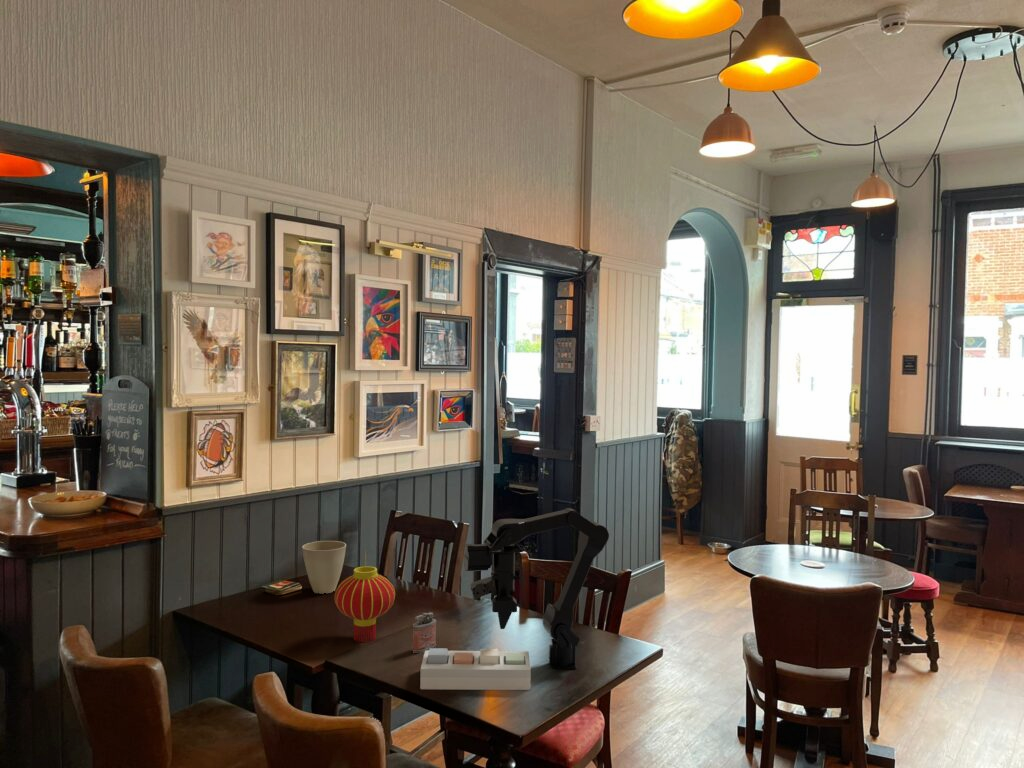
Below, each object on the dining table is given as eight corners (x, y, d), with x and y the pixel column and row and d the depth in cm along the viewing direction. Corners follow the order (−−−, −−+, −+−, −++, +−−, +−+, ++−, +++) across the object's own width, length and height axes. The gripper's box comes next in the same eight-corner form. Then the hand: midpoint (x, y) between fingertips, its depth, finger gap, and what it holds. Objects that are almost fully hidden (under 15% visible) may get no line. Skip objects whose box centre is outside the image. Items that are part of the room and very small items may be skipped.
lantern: (404, 631, 224) (405, 531, 224) (378, 652, 208) (379, 544, 207) (352, 625, 229) (353, 526, 228) (323, 645, 212) (324, 539, 211)
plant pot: (348, 584, 271) (349, 540, 270) (342, 597, 256) (342, 550, 255) (306, 584, 270) (307, 540, 269) (297, 597, 255) (297, 550, 254)
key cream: (498, 658, 193) (498, 648, 193) (498, 665, 189) (498, 655, 189) (480, 658, 193) (480, 648, 193) (479, 665, 189) (480, 655, 189)
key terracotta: (472, 662, 193) (472, 652, 193) (472, 669, 189) (472, 660, 188) (454, 662, 193) (454, 652, 193) (453, 669, 188) (454, 659, 188)
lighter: (430, 643, 215) (430, 608, 215) (438, 646, 213) (439, 611, 212) (409, 651, 209) (409, 615, 208) (417, 654, 206) (418, 618, 206)
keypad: (528, 670, 197) (528, 651, 197) (530, 690, 185) (530, 669, 185) (424, 669, 197) (425, 650, 197) (420, 689, 185) (420, 669, 185)
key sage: (523, 663, 193) (523, 653, 193) (524, 670, 189) (524, 660, 189) (505, 662, 193) (505, 653, 193) (505, 670, 189) (505, 660, 189)
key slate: (447, 658, 193) (447, 648, 193) (446, 665, 188) (446, 655, 188) (429, 657, 193) (429, 648, 193) (427, 665, 188) (428, 655, 188)
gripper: (472, 559, 205) (471, 616, 205) (473, 579, 186) (471, 641, 187) (513, 560, 206) (511, 616, 206) (518, 579, 187) (516, 641, 187)
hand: (502, 628), depth 196 cm, fingers closed
